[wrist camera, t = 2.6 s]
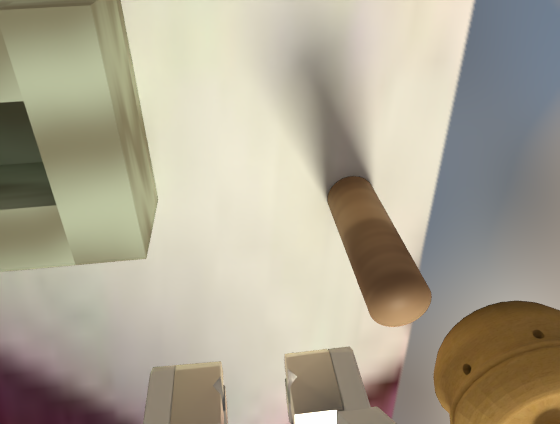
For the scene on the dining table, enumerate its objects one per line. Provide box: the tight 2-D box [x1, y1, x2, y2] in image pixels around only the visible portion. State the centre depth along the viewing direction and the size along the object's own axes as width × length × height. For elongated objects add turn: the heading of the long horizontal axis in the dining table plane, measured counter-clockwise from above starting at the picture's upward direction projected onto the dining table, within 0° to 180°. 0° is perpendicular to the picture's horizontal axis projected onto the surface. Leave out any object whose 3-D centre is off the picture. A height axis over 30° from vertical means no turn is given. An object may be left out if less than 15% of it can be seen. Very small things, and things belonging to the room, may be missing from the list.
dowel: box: [328, 176, 431, 327], centre depth 27 cm, size 3×3×10 cm
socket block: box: [0, 0, 158, 272], centre depth 24 cm, size 12×12×6 cm
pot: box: [434, 301, 560, 424], centre depth 36 cm, size 12×12×10 cm
